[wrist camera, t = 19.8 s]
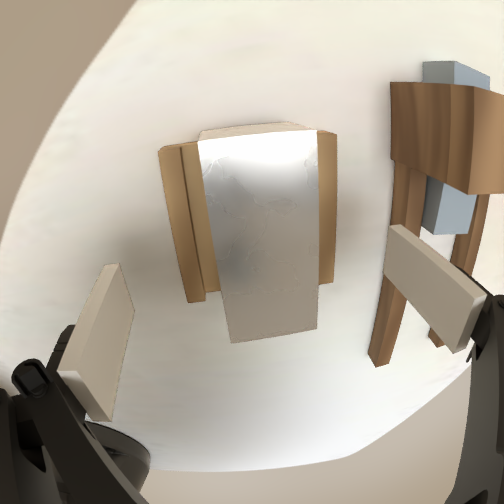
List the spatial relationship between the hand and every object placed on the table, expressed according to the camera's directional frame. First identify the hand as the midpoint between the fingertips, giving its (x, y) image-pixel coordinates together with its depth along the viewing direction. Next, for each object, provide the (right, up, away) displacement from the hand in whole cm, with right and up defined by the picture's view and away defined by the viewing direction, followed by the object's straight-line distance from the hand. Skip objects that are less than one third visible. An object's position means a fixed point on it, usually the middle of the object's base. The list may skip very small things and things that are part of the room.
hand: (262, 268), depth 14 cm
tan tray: (0, +3, +6) cm, 7 cm away
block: (0, +3, +5) cm, 6 cm away
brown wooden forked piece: (+15, +2, +9) cm, 17 cm away
